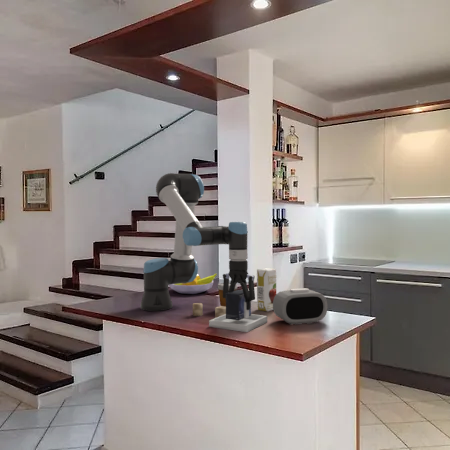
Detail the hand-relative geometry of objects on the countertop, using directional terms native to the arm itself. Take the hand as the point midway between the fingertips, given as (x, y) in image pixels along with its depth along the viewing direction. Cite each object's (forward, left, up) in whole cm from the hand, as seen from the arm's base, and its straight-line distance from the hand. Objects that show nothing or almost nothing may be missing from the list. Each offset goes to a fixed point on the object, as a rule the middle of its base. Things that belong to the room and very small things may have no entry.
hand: (238, 316), depth 179 cm
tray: (0, 0, -3) cm, 3 cm away
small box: (0, 0, -1) cm, 1 cm away
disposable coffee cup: (-18, +22, -3) cm, 28 cm away
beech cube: (-12, +7, -3) cm, 14 cm away
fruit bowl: (-59, +52, -3) cm, 79 cm away
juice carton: (-2, +31, -3) cm, 31 cm away
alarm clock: (+20, +17, -3) cm, 26 cm away
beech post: (-24, +6, -3) cm, 25 cm away
